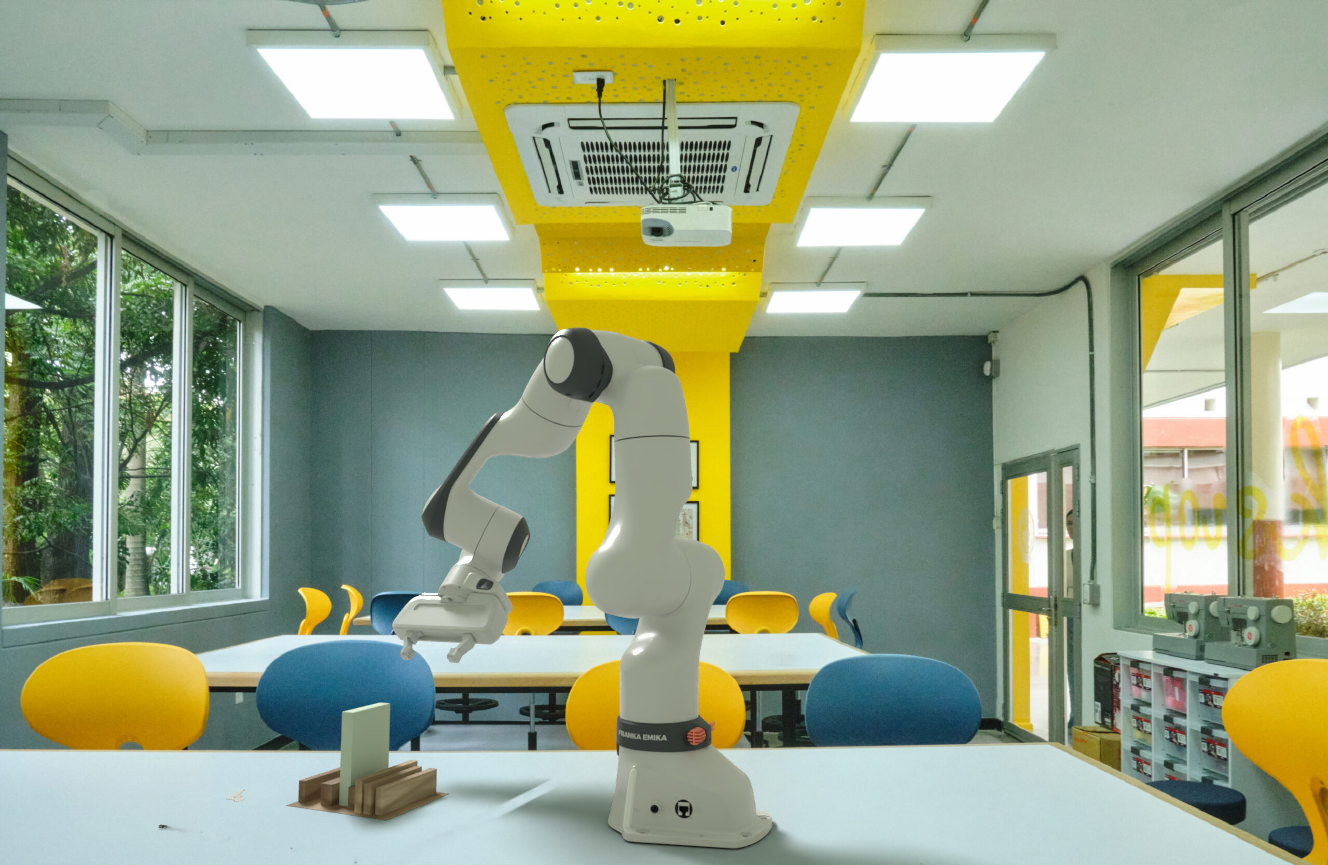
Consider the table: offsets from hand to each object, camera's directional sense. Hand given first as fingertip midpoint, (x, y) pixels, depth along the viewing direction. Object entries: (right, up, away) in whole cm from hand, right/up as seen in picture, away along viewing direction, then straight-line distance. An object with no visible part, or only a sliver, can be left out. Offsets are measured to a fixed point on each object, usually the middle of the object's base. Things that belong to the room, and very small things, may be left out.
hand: (428, 659), depth 150 cm
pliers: (-25, -18, -17) cm, 36 cm away
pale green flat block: (-6, -17, -15) cm, 23 cm away
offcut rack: (-5, -18, -16) cm, 24 cm away
